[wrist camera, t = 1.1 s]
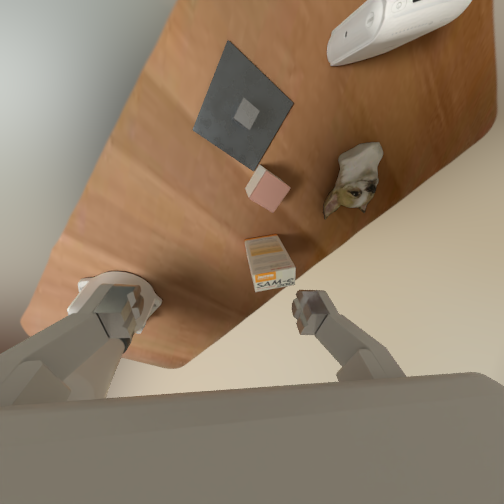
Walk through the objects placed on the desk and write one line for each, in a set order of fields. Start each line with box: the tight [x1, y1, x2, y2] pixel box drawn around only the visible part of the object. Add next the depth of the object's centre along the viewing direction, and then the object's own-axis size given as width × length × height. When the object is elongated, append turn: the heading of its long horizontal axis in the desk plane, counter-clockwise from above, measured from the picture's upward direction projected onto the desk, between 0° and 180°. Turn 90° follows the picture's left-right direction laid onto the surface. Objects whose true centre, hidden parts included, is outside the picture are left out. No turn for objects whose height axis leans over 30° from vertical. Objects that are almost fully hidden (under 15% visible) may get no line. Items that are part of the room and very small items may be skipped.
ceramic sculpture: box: [323, 142, 383, 219], centre depth 35 cm, size 11×9×15 cm
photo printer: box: [327, 0, 472, 66], centre depth 22 cm, size 10×4×12 cm, turn 103°
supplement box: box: [244, 234, 296, 292], centre depth 39 cm, size 8×5×13 cm, turn 96°
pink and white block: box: [245, 164, 291, 213], centre depth 33 cm, size 5×5×7 cm
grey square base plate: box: [193, 40, 293, 171], centre depth 27 cm, size 12×12×6 cm
